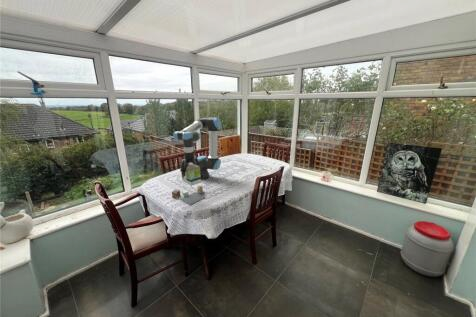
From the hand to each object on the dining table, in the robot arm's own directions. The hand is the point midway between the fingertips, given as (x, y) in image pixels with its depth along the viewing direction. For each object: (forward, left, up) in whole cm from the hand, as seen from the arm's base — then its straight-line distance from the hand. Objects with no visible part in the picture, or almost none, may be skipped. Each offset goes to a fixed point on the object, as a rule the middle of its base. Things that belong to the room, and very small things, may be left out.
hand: (191, 176), depth 154 cm
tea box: (0, 0, -5) cm, 5 cm away
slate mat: (0, 0, -21) cm, 21 cm away
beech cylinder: (-11, -4, -21) cm, 24 cm away
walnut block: (+7, -15, -21) cm, 27 cm away
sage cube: (+1, -10, -21) cm, 23 cm away
